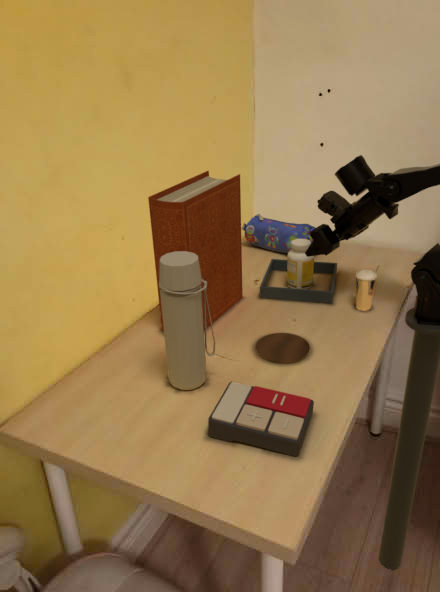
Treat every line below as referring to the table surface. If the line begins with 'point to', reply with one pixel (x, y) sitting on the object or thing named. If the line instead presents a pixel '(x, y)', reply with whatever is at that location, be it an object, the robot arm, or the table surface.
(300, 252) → the pill bottle
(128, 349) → the table surface
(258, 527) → the table surface
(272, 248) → the pencil case
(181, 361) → the water bottle
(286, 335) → the coaster
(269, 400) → the button control box
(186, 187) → the book
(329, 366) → the table surface
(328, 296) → the dark grey square frame
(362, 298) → the milkshake
